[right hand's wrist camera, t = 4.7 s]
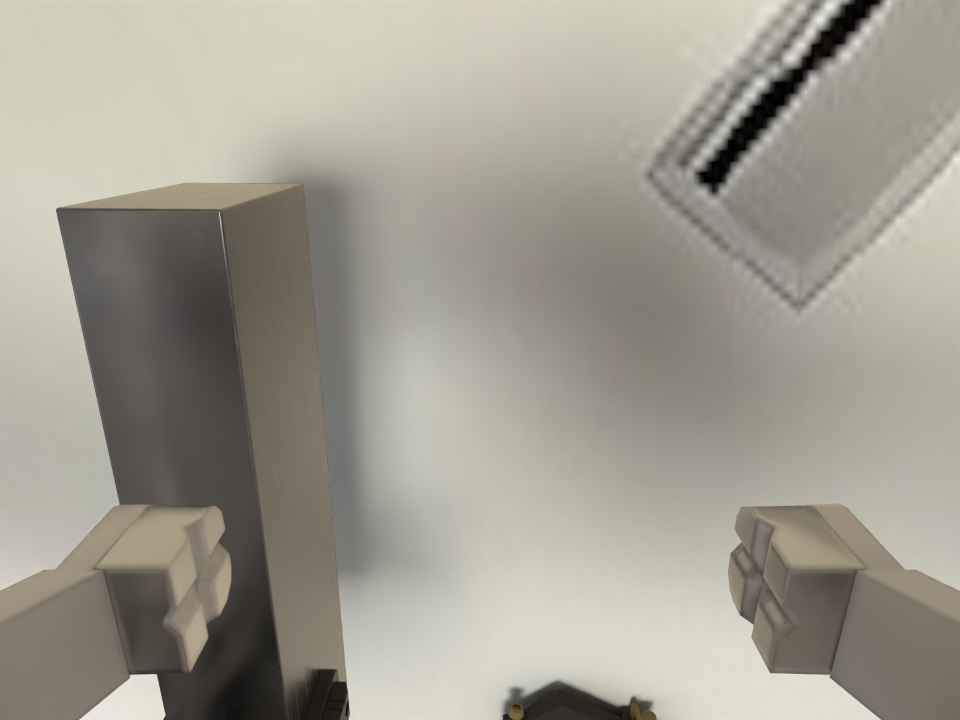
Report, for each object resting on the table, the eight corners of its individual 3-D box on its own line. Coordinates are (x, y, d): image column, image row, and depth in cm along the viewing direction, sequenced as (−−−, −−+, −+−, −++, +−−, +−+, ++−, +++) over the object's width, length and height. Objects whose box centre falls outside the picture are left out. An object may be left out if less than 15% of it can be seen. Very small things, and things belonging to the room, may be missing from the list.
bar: (185, 182, 26) (54, 207, 18) (303, 183, 26) (221, 209, 18) (260, 691, 35) (193, 847, 28) (348, 693, 35) (305, 851, 27)
